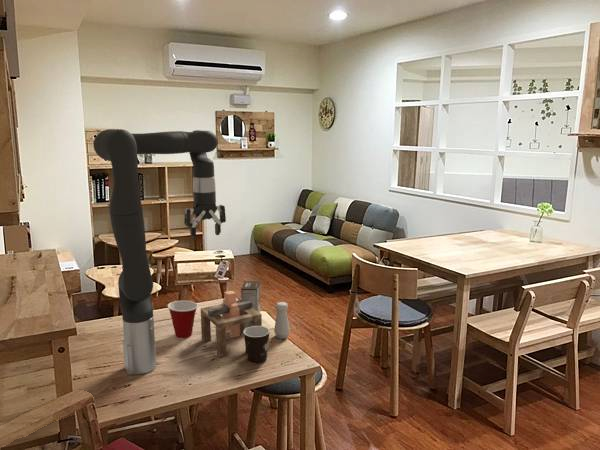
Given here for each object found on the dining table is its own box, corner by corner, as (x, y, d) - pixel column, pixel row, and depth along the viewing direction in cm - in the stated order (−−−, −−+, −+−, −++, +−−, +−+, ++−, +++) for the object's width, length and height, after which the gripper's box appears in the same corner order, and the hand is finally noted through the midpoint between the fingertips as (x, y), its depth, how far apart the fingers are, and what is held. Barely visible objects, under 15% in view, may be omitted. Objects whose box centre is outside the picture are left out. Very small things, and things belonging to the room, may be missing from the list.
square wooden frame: (219, 357, 166) (218, 318, 163) (201, 339, 179) (200, 303, 176) (261, 346, 175) (261, 308, 172) (241, 329, 188) (241, 294, 185)
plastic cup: (204, 336, 182) (202, 306, 179) (175, 344, 176) (173, 312, 173) (192, 326, 190) (191, 296, 188) (165, 333, 184) (163, 302, 182)
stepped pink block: (232, 337, 172) (231, 296, 169) (222, 329, 179) (221, 289, 175) (239, 335, 174) (239, 295, 170) (230, 327, 180) (229, 288, 177)
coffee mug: (258, 350, 171) (258, 323, 169) (275, 359, 165) (275, 331, 163) (231, 362, 163) (230, 333, 161) (247, 371, 157) (247, 342, 155)
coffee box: (244, 318, 198) (244, 280, 194) (260, 318, 198) (260, 280, 194) (241, 328, 189) (240, 288, 185) (258, 328, 189) (258, 288, 185)
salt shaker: (281, 331, 186) (281, 299, 184) (293, 336, 183) (293, 302, 180) (270, 336, 182) (270, 303, 179) (282, 341, 178) (282, 307, 176)
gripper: (188, 193, 162) (190, 241, 166) (228, 189, 170) (229, 235, 173) (180, 190, 168) (182, 236, 172) (219, 187, 176) (220, 231, 180)
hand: (205, 236), depth 173 cm, fingers open, 8 cm apart
